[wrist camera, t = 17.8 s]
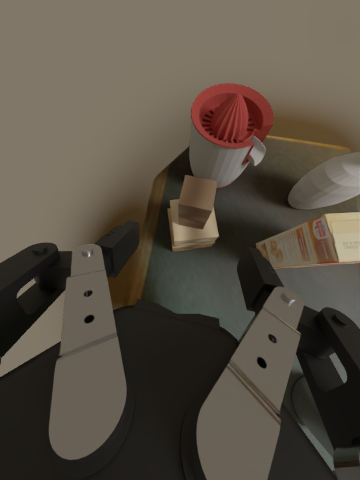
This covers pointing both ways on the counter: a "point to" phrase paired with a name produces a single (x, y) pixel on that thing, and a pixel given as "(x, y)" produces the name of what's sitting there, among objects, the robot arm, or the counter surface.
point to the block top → (192, 229)
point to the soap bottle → (328, 183)
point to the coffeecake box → (316, 243)
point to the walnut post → (196, 201)
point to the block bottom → (184, 247)
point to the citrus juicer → (227, 132)
